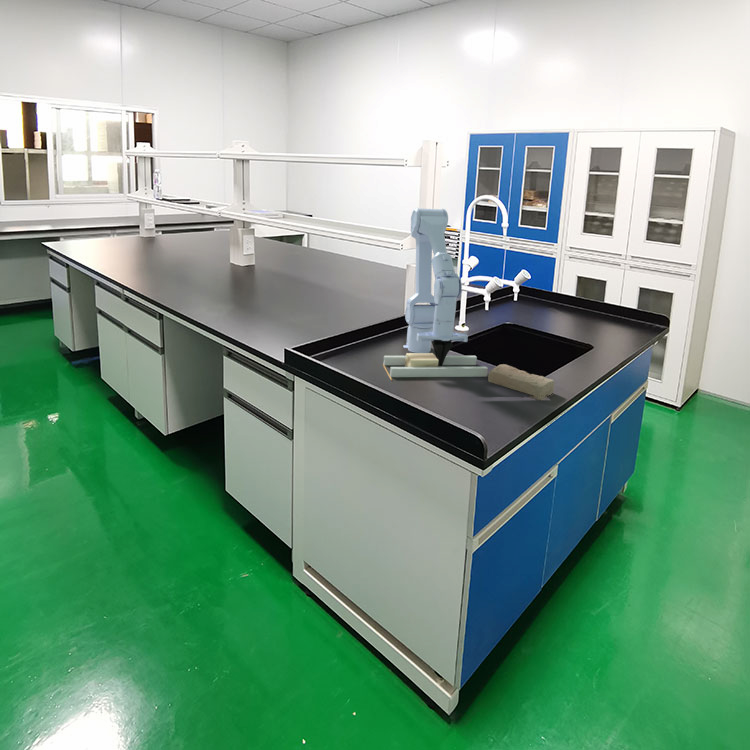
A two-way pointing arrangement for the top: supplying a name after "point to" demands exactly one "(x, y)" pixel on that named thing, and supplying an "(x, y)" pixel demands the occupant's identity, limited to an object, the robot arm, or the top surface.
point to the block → (421, 360)
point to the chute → (435, 368)
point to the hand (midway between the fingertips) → (439, 364)
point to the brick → (521, 381)
